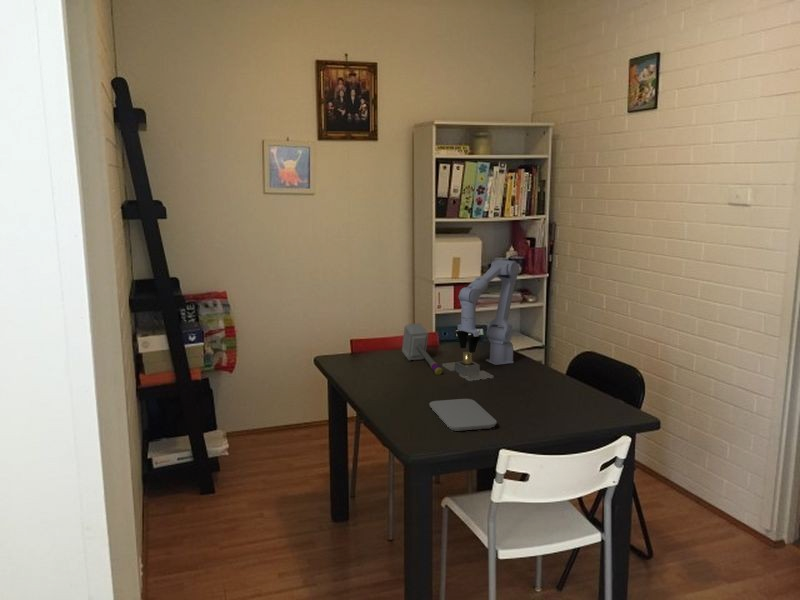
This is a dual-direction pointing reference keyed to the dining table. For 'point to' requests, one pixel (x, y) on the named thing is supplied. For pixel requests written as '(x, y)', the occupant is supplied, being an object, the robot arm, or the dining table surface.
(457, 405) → the tablet
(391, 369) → the dining table surface
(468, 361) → the hinge pin
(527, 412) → the dining table surface
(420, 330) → the hammer
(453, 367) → the hinge base
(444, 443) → the dining table surface
